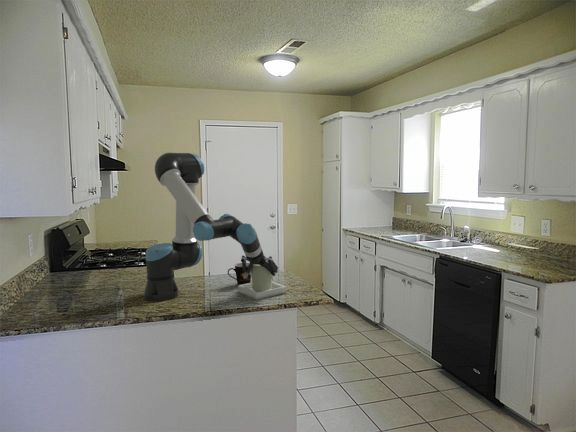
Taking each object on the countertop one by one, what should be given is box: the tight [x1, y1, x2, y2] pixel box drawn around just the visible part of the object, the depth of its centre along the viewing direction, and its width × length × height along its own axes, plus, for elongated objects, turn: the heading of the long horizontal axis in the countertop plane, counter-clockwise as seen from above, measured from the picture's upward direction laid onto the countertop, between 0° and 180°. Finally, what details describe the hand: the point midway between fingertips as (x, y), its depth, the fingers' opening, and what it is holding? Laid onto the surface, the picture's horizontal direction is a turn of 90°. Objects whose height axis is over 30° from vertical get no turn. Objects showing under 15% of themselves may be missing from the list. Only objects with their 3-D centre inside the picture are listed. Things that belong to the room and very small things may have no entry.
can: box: [251, 264, 272, 291], centre depth 188 cm, size 9×9×12 cm
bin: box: [237, 280, 287, 301], centre depth 189 cm, size 16×16×3 cm
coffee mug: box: [227, 262, 252, 286], centre depth 202 cm, size 12×9×10 cm
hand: (263, 277), depth 192 cm, fingers closed on can, 9 cm apart
